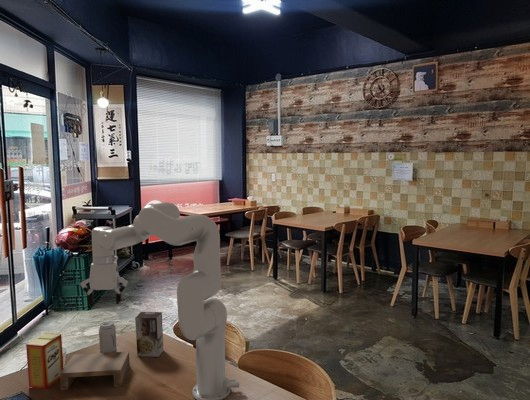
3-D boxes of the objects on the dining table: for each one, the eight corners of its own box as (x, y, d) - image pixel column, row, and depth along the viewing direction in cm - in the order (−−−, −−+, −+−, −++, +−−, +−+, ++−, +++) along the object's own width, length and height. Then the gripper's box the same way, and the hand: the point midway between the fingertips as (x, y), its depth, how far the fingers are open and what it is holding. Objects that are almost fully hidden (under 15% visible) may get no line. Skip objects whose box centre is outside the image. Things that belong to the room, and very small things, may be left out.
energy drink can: (113, 364, 164) (112, 326, 163) (98, 365, 164) (96, 327, 163) (119, 357, 170) (117, 320, 168) (104, 357, 170) (102, 320, 169)
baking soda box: (45, 389, 147) (42, 344, 145) (29, 387, 148) (25, 343, 147) (63, 375, 156) (61, 333, 155) (47, 374, 158) (45, 332, 156)
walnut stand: (129, 366, 163) (129, 351, 162) (121, 386, 149) (120, 369, 148) (74, 369, 161) (73, 354, 160) (60, 390, 147) (59, 373, 146)
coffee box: (164, 349, 176) (162, 311, 175) (158, 357, 170) (157, 317, 168) (142, 349, 177) (140, 311, 176) (136, 356, 171) (134, 317, 169)
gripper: (129, 256, 168) (130, 299, 169) (82, 257, 166) (84, 300, 168) (124, 261, 160) (126, 306, 162) (76, 262, 158) (78, 307, 160)
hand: (105, 303), depth 165 cm, fingers open, 9 cm apart
